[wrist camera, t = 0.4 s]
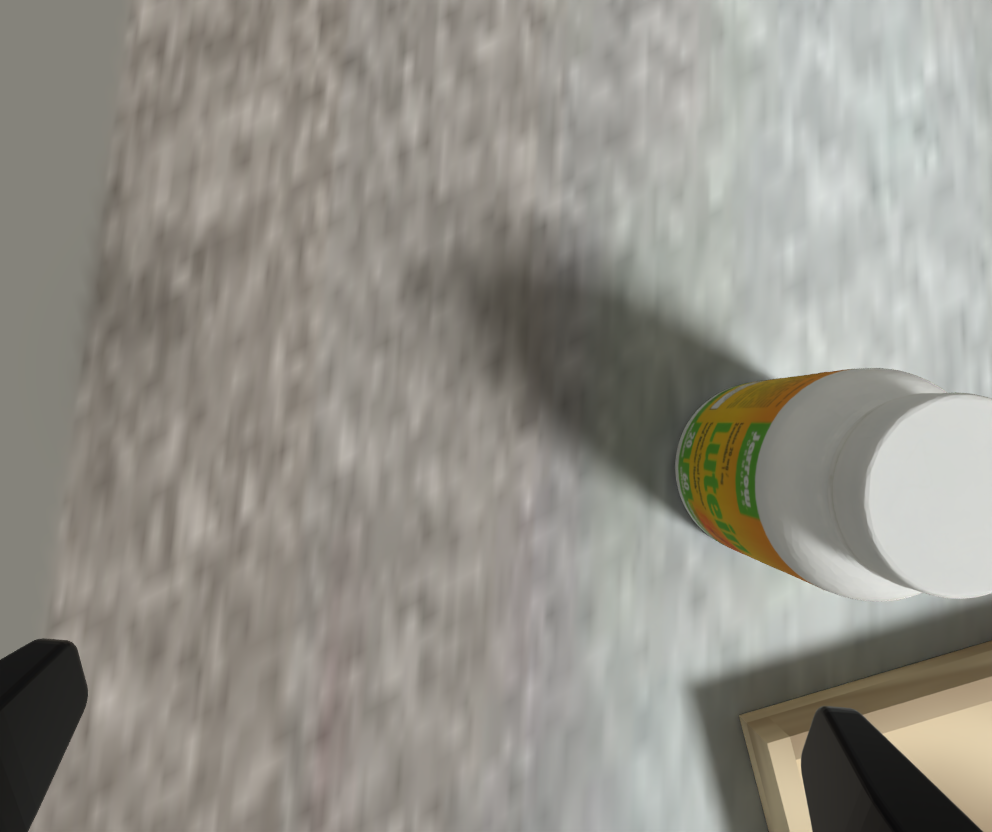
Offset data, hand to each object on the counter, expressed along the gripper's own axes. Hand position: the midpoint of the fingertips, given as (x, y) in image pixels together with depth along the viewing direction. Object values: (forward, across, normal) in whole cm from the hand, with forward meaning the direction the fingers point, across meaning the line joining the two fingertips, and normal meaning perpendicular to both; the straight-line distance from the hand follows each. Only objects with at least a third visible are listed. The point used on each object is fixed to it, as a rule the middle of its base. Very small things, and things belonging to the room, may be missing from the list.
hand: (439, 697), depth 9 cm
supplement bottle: (+15, -8, +5) cm, 18 cm away
